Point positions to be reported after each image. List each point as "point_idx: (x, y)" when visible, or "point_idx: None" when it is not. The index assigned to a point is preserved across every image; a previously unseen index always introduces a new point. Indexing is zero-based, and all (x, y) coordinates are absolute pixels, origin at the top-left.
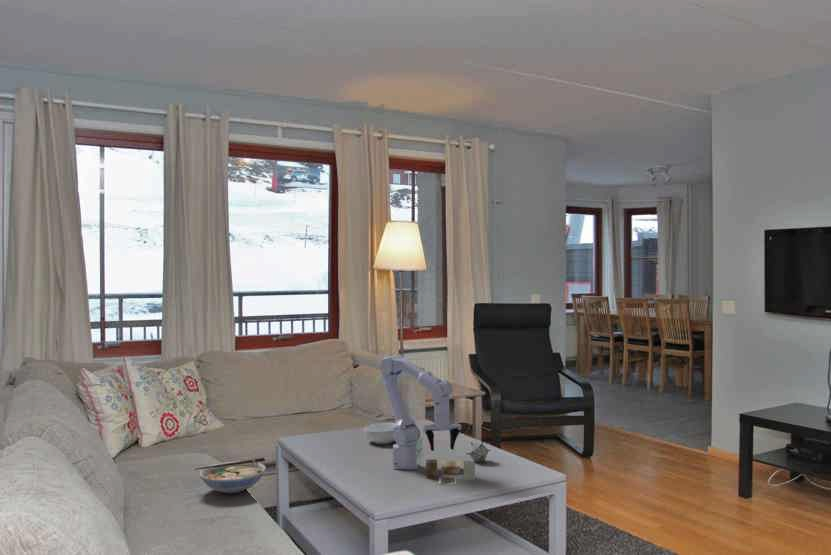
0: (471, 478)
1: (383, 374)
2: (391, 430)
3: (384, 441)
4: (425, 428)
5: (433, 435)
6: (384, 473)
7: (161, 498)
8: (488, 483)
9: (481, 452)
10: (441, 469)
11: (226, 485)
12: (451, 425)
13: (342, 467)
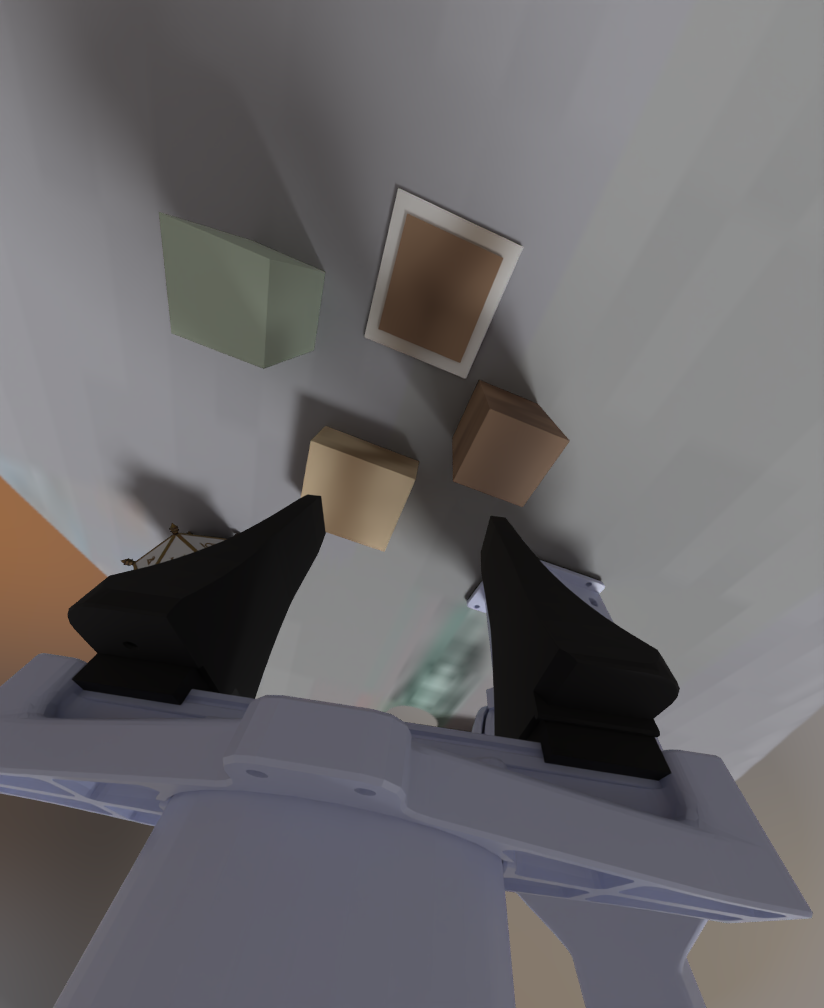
0: (267, 248)
1: None
2: None
3: None
4: (741, 851)
5: (560, 635)
6: (677, 552)
7: None
8: (146, 101)
9: (166, 551)
10: (416, 471)
11: None
12: (143, 787)
13: (763, 659)
